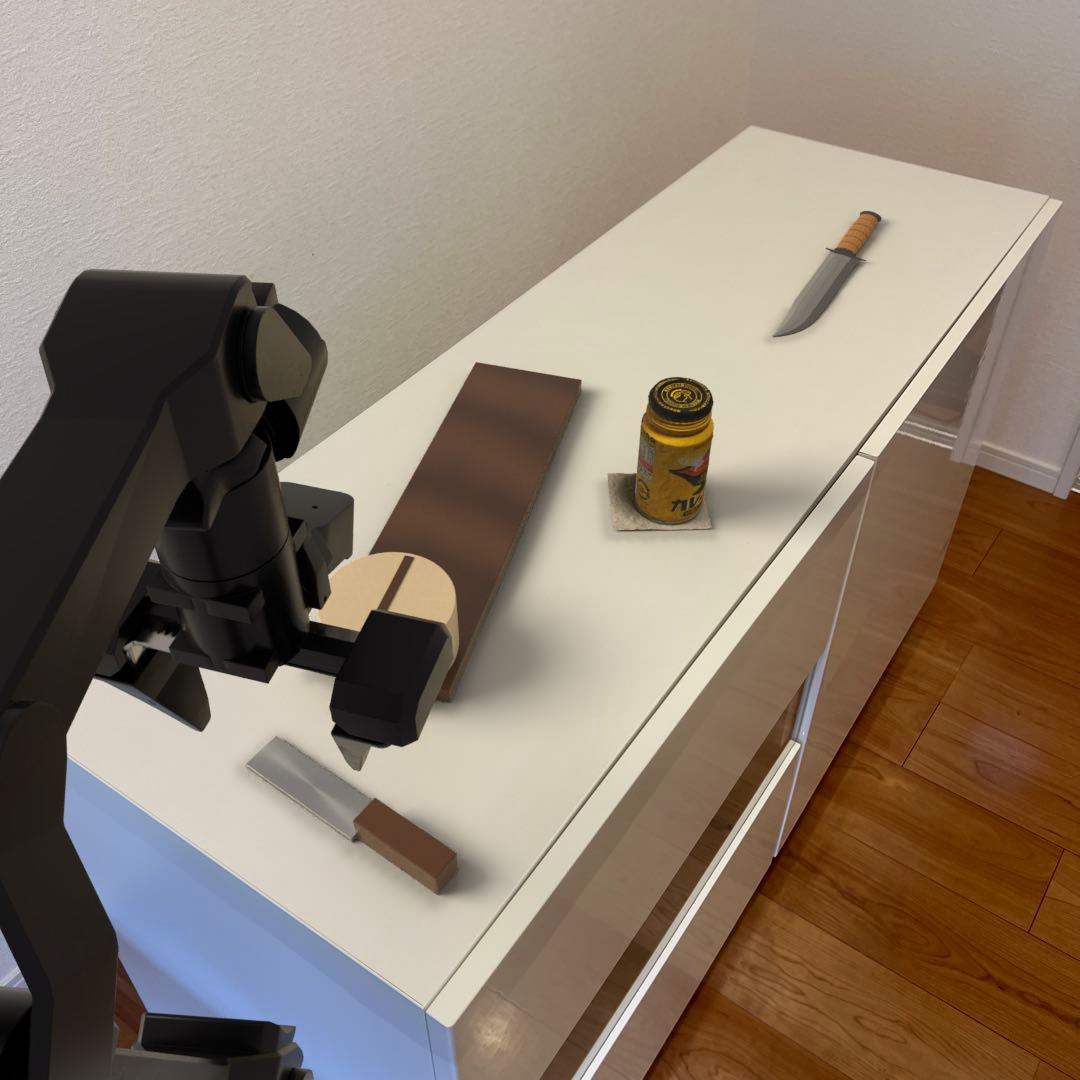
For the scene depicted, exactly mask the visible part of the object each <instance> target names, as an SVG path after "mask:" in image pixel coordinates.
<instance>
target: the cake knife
mask: <svg viewBox="0 0 1080 1080" xmlns="http://www.w3.org/2000/svg"><path fill="white" fill-rule="evenodd" d="M245 767H246V769H248V770H250V772H252V773H253V774H255V775H256V776H258V777H259V778H261V779H262V780H263V781H265V782H266V783H267V784H269V785H271V787H273V788H275V789H276V790H278V791H279V792H280V793H282V794H283V795H284V796H286V797H287V798H289V799H290V800H291V801H293V802H295V804H297V805H299V806H300V807H301V808H302V809H305V810H306V811H307V812H308V813H310V814H311V815H313V817H315V818H317V819H318V820H320V821H321V822H322V823H324V824H325V825H326V826H328V827H330V829H332V830H334V831H335V832H337V833H338V834H340V836H342V837H344V838H345V839H346V840H348V841H349V842H350V843H352V842H354V840H355V839H357V840H359V841H360V842H362V843H363V844H365V846H367V847H369V848H370V849H372V850H373V851H374V852H376V853H377V854H379V855H380V856H381V857H383V858H384V859H385V860H387V861H388V862H390V863H391V864H393V865H394V866H396V867H397V868H398V869H400V870H401V871H403V872H404V873H405V874H407V875H408V876H410V877H411V878H412V879H414V880H415V881H417V882H418V883H419V884H421V885H422V886H424V887H425V888H427V889H428V890H429V891H431V892H432V893H434V894H435V895H439V894H440V893H441V891H443V889H444V888H445V887H446V885H447V884H448V883H449V882H450V881H451V880H452V878H453V877H454V876H455V875H456V873H457V872H458V871H459V863H458V853H457V852H456V851H455V850H453V849H452V848H450V847H449V846H448V845H446V844H444V843H443V842H442V841H440V840H438V839H437V838H435V837H434V836H433V835H431V834H429V833H428V832H426V831H425V830H424V829H422V828H421V827H420V826H418V825H416V823H413V822H412V821H411V820H409V819H407V817H404V816H403V815H402V814H400V813H398V812H397V811H396V810H394V809H393V808H391V807H390V806H388V805H387V804H385V803H384V802H382V801H381V800H380V799H378V798H376V797H374V798H373V799H372V800H371V799H370V798H368V797H367V796H366V795H364V794H362V793H361V792H360V791H358V790H357V789H355V788H354V787H353V786H350V785H349V784H348V783H347V782H345V781H343V780H342V779H341V778H339V777H338V776H336V775H334V774H333V773H332V772H330V771H328V770H327V769H326V768H324V767H323V766H322V765H320V764H318V763H317V762H316V761H314V760H312V759H311V758H309V757H308V756H307V755H305V754H304V753H303V752H301V751H300V750H298V749H296V748H295V747H294V746H292V745H291V744H289V743H288V742H286V741H285V740H284V739H281V738H280V737H279V736H277V735H275V736H274V737H273V738H272V739H271V740H270V741H269V742H268V743H267V744H266V745H264V747H263V748H262V749H260V750H259V751H258V752H257V753H256V754H255V755H254V756H253V757H251V759H249V760H248V761H247V762H246V763H245Z"/></svg>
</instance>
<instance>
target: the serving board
mask: <svg viewBox="0 0 1080 1080" xmlns="http://www.w3.org/2000/svg"><path fill="white" fill-rule="evenodd" d="M582 382H583V381H582V379H579V378H573V377H568V376H561V375H556V374H550V373H543V372H539V371H538V372H537V371H533V370H526V369H520V368H515V367H508V366H501V365H496V364H489V363H484V362H479V361H475V363H474V365H473V366H472V368H471V370H470V371H469V373H468V374H467V377H466V379H465V380H464V382H463V384H462V386H461V388H460V389H459V391H458V393H457V395H456V397H455V399H454V400H453V402H452V404H451V406H450V408H449V410H448V411H447V413H446V414H445V416H444V418H443V420H442V422H441V424H440V426H439V427H438V429H437V431H436V432H435V435H434V436H433V438H432V440H431V442H430V443H429V445H428V447H427V449H426V450H425V452H424V454H423V456H422V457H421V459H420V461H419V463H418V465H417V467H416V468H415V470H414V472H413V474H412V476H411V478H410V480H409V482H408V483H407V485H406V487H405V489H404V490H403V492H402V494H401V495H400V497H399V499H398V501H397V503H396V504H395V506H394V508H393V510H392V512H391V513H390V516H389V517H388V519H387V521H386V522H385V524H384V526H383V528H382V530H381V532H380V533H379V535H378V537H377V539H376V541H375V542H374V544H373V545H372V547H371V549H370V551H369V553H368V555H373V554H377V553H385V552H402V553H409V554H414V555H418V556H421V557H423V558H426V559H428V560H430V561H432V562H434V563H435V564H437V565H438V566H440V567H441V568H442V569H443V570H444V571H445V572H446V573H447V575H448V576H449V577H450V579H451V581H452V582H453V585H454V588H455V592H456V601H457V615H458V629H459V649H458V653H457V656H456V659H455V661H454V663H453V665H452V666H451V667H450V669H449V670H448V672H447V674H446V677H445V679H444V681H443V684H442V686H441V688H440V691H439V693H438V695H437V697H436V700H435V701H438V702H439V701H440V702H442V703H447V704H450V703H451V702H452V700H453V697H454V695H455V692H456V690H457V688H458V685H459V683H460V681H461V678H462V676H463V673H464V671H465V669H466V666H467V664H468V662H469V659H470V657H471V655H472V652H473V650H474V647H475V646H476V643H477V640H478V638H479V636H480V633H481V631H482V629H483V626H484V623H485V622H486V619H487V617H488V614H489V612H490V610H491V607H492V604H493V602H494V601H495V597H496V595H497V594H498V590H499V588H500V586H501V583H502V581H503V578H504V576H505V574H506V572H507V569H508V568H509V567H508V566H509V564H510V561H511V560H512V557H513V555H514V552H515V550H516V549H517V545H518V543H519V540H520V538H521V535H522V534H523V532H524V529H525V526H526V524H527V522H528V520H529V517H530V515H531V512H532V509H533V507H534V505H535V502H536V500H537V498H538V496H539V493H540V491H541V488H542V486H543V483H544V481H545V479H546V477H547V474H548V471H549V469H550V467H551V465H552V462H553V460H554V458H555V455H556V453H557V451H558V448H559V445H560V443H561V441H562V438H563V436H564V434H565V431H566V429H567V428H568V424H569V422H570V420H571V417H572V414H573V412H574V410H575V408H576V405H577V403H578V400H579V398H580V396H581V393H582Z"/></svg>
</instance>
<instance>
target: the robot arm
mask: <svg viewBox="0 0 1080 1080" xmlns="http://www.w3.org/2000/svg"><path fill="white" fill-rule="evenodd" d="M38 353H39V357H40V361H41V364H42V368H43V370H44V374H45V377H46V381H47V384H48V387H49V391H50V394H49V397H48V399H47V400H46V402H45V405H44V407H43V409H42V411H41V413H40V415H39V417H38V420H37V422H36V423H35V424H34V426H33V427H32V429H31V431H30V432H29V433H28V435H27V437H26V438H25V439H24V441H23V443H21V445H20V447H19V449H18V450H17V451H16V453H15V455H14V456H13V457H12V459H11V460H10V462H9V464H8V465H7V467H6V468H5V470H4V471H3V473H2V474H1V476H0V932H1V934H2V936H3V938H4V940H5V942H6V944H7V946H8V948H9V950H10V951H9V952H10V953H11V955H12V957H13V959H14V961H15V964H16V965H17V968H18V969H19V972H20V973H21V975H22V977H23V979H24V982H25V984H26V986H27V987H15V986H4V985H3V986H2V985H0V1080H315V1079H314V1072H313V1070H312V1069H310V1068H302V1066H303V1063H304V1058H305V1057H304V1053H303V1050H302V1048H301V1047H300V1045H299V1044H298V1043H297V1042H296V1041H294V1039H295V1035H296V1030H297V1025H289V1024H278V1023H275V1022H273V1021H270V1020H257V1019H244V1018H230V1017H218V1016H217V1017H216V1016H205V1015H191V1014H190V1015H189V1014H177V1013H164V1012H149V1011H144V1012H143V1013H142V1014H141V1016H140V1024H139V1028H138V1029H139V1030H138V1036H137V1040H136V1041H135V1042H134V1043H133V1044H132V1045H131V1046H130V1048H123V1047H117V1046H118V1041H119V1037H120V1032H121V1030H120V1028H119V1026H118V1025H117V1023H116V1022H115V1019H116V1017H115V1016H116V1002H117V1001H116V1000H117V983H118V967H119V951H120V950H119V949H120V948H119V947H120V946H119V941H118V936H117V932H116V929H115V928H114V925H113V923H112V921H111V919H110V916H109V915H108V913H107V911H106V909H105V907H104V904H103V903H102V901H101V898H100V896H99V894H98V892H97V890H96V888H95V886H94V883H93V882H92V880H91V878H90V875H89V874H88V871H87V870H86V868H85V866H84V863H83V861H82V860H81V859H82V858H81V857H80V855H79V853H78V851H77V849H76V847H75V844H74V843H73V840H72V839H71V836H70V835H69V832H68V830H67V828H66V826H65V822H64V820H65V806H66V791H67V790H66V789H67V773H68V738H67V737H68V736H67V735H68V732H69V731H70V728H71V727H72V725H73V723H74V720H75V718H76V716H77V714H78V711H79V709H80V707H81V705H82V703H83V701H84V698H85V697H86V694H87V692H88V690H89V688H90V686H91V684H92V682H93V680H96V681H101V682H103V683H106V684H108V685H110V686H112V687H113V688H116V689H117V690H119V691H122V692H124V693H125V694H127V695H129V696H131V697H133V698H135V699H137V700H139V701H141V702H143V703H145V704H147V705H149V706H150V707H152V708H154V709H156V710H157V711H159V712H161V713H163V714H165V715H166V716H168V717H170V718H172V719H174V720H176V721H178V722H179V723H181V724H183V725H184V726H187V727H188V728H190V729H191V730H194V731H196V732H199V733H203V732H204V731H205V729H207V726H208V724H209V723H210V721H211V718H212V714H211V713H212V711H211V707H210V701H209V700H210V699H209V696H208V693H207V690H206V686H205V683H204V679H203V676H202V673H201V670H200V669H203V670H208V671H212V672H216V673H220V674H225V675H229V676H233V677H238V678H242V679H246V680H250V681H254V682H259V683H263V684H267V685H269V684H270V682H271V680H272V679H273V677H274V676H275V673H276V672H277V670H278V668H279V667H283V666H287V667H291V668H296V669H299V670H304V671H308V672H313V673H316V674H321V675H326V676H331V677H335V678H334V683H333V685H332V692H331V697H330V702H329V707H328V708H329V712H330V717H331V721H332V722H333V723H334V725H333V727H332V729H331V731H330V736H331V737H332V739H333V741H334V744H335V745H336V747H337V748H338V750H339V751H340V754H341V755H342V757H343V759H344V761H345V762H346V763H347V765H348V767H350V768H351V770H353V771H356V772H361V771H362V769H363V767H364V765H365V762H366V761H367V758H368V756H369V753H370V750H371V748H376V749H381V750H383V749H387V748H390V747H391V746H395V747H398V748H404V747H406V746H409V745H410V744H413V743H416V742H417V741H419V738H420V736H421V734H422V732H423V730H424V727H425V725H426V722H427V720H428V719H429V715H430V714H431V711H432V709H433V707H434V704H435V702H436V701H437V700H436V697H437V695H438V693H439V691H440V688H441V686H442V684H443V681H444V679H445V677H446V674H447V672H448V670H449V668H450V665H451V663H452V661H453V645H452V636H451V634H450V633H449V631H448V629H447V627H446V625H445V623H442V622H437V621H433V620H428V619H423V618H419V617H414V616H410V615H405V614H400V613H396V612H391V611H387V610H382V609H376V610H371V611H370V613H369V615H368V617H367V619H366V621H365V623H364V625H363V627H362V629H361V630H360V631H355V630H351V629H346V628H342V627H337V626H333V625H328V624H324V623H320V621H314V620H311V619H310V614H311V611H312V609H314V610H317V611H318V610H322V608H323V607H324V605H325V603H326V602H327V600H328V598H329V596H330V595H331V588H330V583H329V579H330V578H329V575H330V574H331V573H332V572H333V571H335V569H336V568H337V567H338V566H340V564H341V563H343V562H344V561H345V560H349V559H350V558H351V557H352V556H353V554H354V527H355V526H354V523H355V521H354V520H355V519H354V518H355V498H354V496H353V495H351V494H349V493H346V492H344V491H343V492H342V491H337V490H333V489H327V488H323V487H318V486H312V485H308V484H303V483H297V482H291V481H280V476H279V471H278V467H277V463H279V462H281V461H283V460H284V459H286V460H287V459H291V458H293V457H294V456H295V454H296V453H297V451H298V447H299V445H300V442H301V439H302V437H303V434H304V430H305V428H306V425H307V423H308V419H309V418H310V414H311V411H312V409H313V406H314V404H315V401H316V397H317V395H318V393H319V389H320V386H321V384H322V381H323V378H324V376H325V373H326V370H327V367H328V365H329V351H328V347H327V343H326V341H325V339H322V336H321V335H320V333H319V331H318V330H317V328H315V326H313V324H312V323H311V321H310V320H308V319H307V318H305V317H304V316H303V315H302V314H301V313H299V311H297V310H295V309H292V308H291V307H288V306H286V305H285V304H282V303H279V299H278V293H277V288H276V284H275V283H274V282H264V281H263V282H261V281H252V280H251V279H250V278H249V277H248V276H247V275H246V274H229V273H228V274H227V273H205V272H204V273H202V272H181V271H158V270H157V271H155V270H132V269H131V270H129V269H110V268H109V269H107V268H90V269H85V270H83V271H82V272H81V273H80V274H78V275H77V276H76V277H74V279H73V281H72V282H71V283H70V285H69V287H68V288H67V290H66V291H65V293H64V295H63V297H62V299H61V301H60V302H59V305H58V306H57V308H56V310H55V312H54V315H53V317H52V320H51V322H50V323H49V326H48V328H47V330H46V332H45V334H44V336H43V338H42V340H41V342H40V344H39V347H38ZM154 550H155V552H156V555H157V558H158V560H156V559H152V558H151V556H152V554H153V552H154Z"/></svg>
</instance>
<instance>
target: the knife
mask: <svg viewBox="0 0 1080 1080" xmlns="http://www.w3.org/2000/svg"><path fill="white" fill-rule="evenodd" d="M879 222H882V216H881V215H880V214H879V213H877V212H875V211H871V210H863V211H860V212H859V216H858V218H857V219H856V220H855V221H854V222H853V223H852V225H851V226H850V228H849V229H848V230H847V232H846V233H845V234H844V235H843V237H842V238H841V240H840V241H839V243H838V244H837V247H834V249H833V248H830V247H825V250H828V251H829V253H828V254H827V256H826V257H825V259H824V260H823V261H822V263H821V264H820V265H819V266H818V268H817V269H816V271H815V272H814V273H813V275H812V276H811V278H810V279H809V280H808V282H807V283H806V284H805V285H804V287H803V289H802V290H801V291H800V292H799V294H798V295H797V296H796V298H795V299H794V301H793V303H792V305H791V307H790V309H789V311H788V313H787V314H786V316H785V317H784V318H783V320H782V322H781V323H780V325H779V326H778V327H777V329H776V330H775V332H774V333H773V335H772V337H781V336H782V337H783V336H787V335H791V334H795V333H798V332H800V331H803V330H804V329H806V328H808V327H809V326H812V324H813V323H814V322H815V321H816V320H818V318H819V317H820V316H821V314H823V312H824V311H825V309H826V308H827V306H828V305H829V304H830V303H831V301H832V299H833V298H834V297H835V295H836V293H837V292H838V291H839V289H840V288H841V286H842V285H843V284H844V282H845V280H846V279H847V278H848V276H849V275H850V274H851V272H852V270H853V269H854V267H856V266H857V265H858V264H859V263H860V261H861V262H862V261H863V262H867V260H866V259H864V258H861V257H858V256H856V254H857V253H858V252H859V250H860V249H861V247H862V246H863V245H864V244H865V242H866V241H867V239H868V238H869V236H870V235H871V233H872V232H873V230H874V229H875V227H876V226H877V224H878V223H879Z"/></svg>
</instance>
